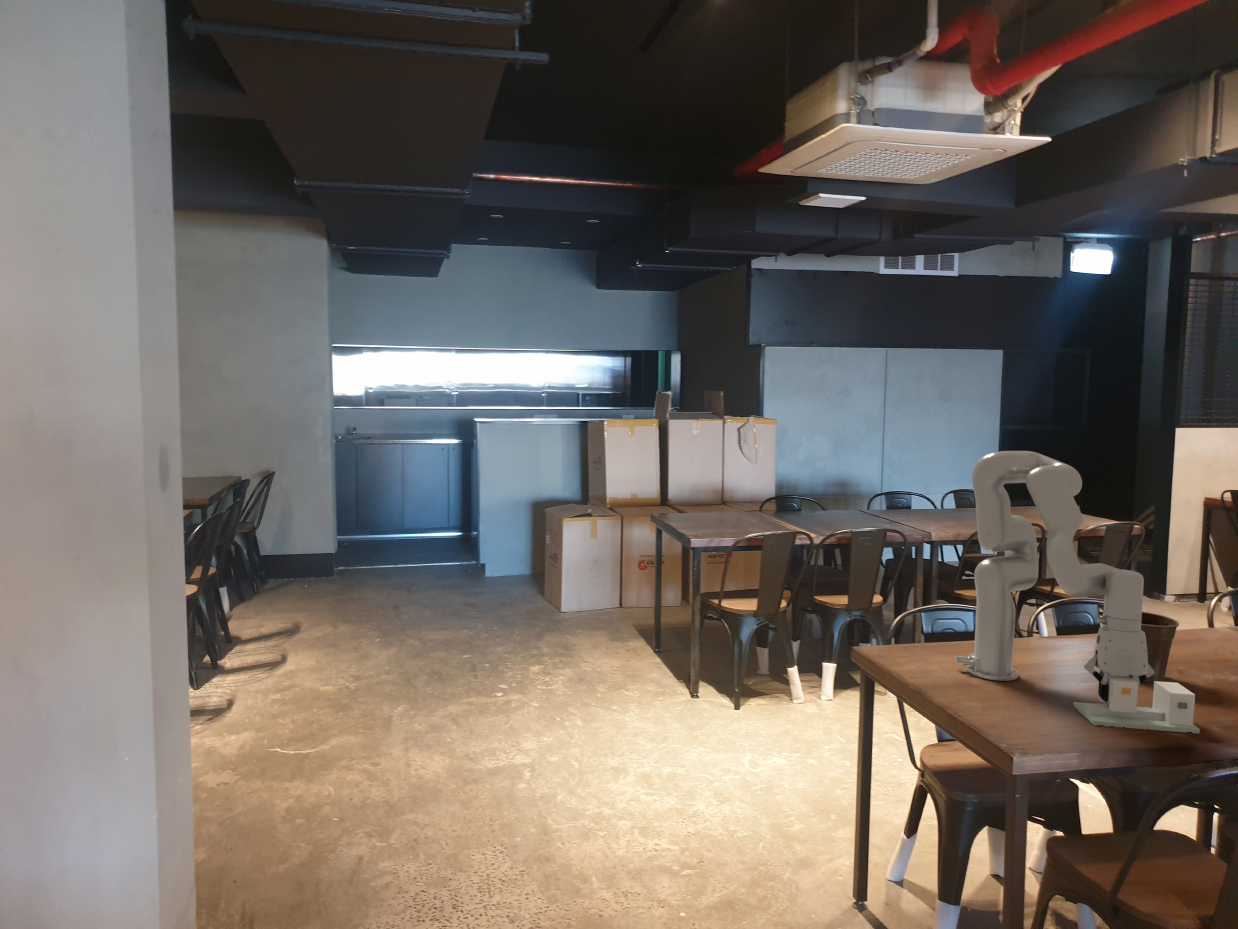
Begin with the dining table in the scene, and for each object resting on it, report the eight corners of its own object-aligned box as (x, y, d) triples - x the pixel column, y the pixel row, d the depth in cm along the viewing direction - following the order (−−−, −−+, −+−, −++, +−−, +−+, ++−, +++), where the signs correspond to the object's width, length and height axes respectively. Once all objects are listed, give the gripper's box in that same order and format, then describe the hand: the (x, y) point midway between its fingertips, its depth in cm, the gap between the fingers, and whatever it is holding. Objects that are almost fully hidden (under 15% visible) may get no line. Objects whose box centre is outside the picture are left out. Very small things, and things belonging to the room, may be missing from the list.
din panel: (1092, 725, 188) (1095, 690, 187) (1073, 706, 200) (1075, 673, 199) (1199, 733, 184) (1202, 698, 184) (1173, 713, 196) (1175, 680, 196)
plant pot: (1168, 671, 227) (1173, 614, 226) (1180, 690, 212) (1184, 628, 211) (1100, 662, 234) (1104, 606, 232) (1107, 680, 219) (1111, 620, 218)
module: (1113, 712, 188) (1115, 681, 188) (1098, 699, 197) (1100, 669, 196) (1137, 714, 187) (1139, 683, 187) (1121, 700, 196) (1123, 671, 195)
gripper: (1088, 625, 189) (1083, 703, 190) (1170, 630, 186) (1165, 709, 187) (1075, 617, 196) (1071, 692, 197) (1154, 621, 193) (1149, 697, 195)
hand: (1117, 699), depth 192 cm, fingers closed on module, 5 cm apart
